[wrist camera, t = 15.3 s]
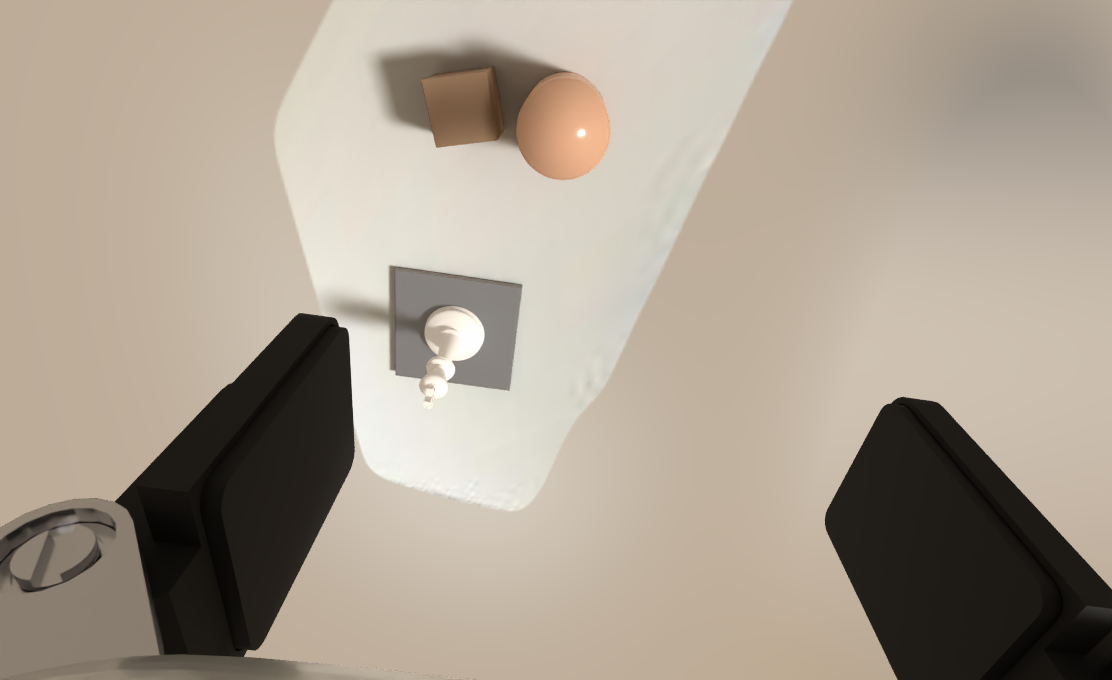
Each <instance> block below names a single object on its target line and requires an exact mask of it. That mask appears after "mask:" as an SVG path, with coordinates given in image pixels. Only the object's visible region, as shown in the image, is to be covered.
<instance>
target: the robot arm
mask: <svg viewBox="0 0 1112 680" xmlns="http://www.w3.org/2000/svg"><path fill="white" fill-rule="evenodd" d="M354 448H355V446H354V426H353V407H352V387H351V367H350V348H349V334H348V330H347V329H346V328H343V327H339V325H338V322H337V320H336V319H335V318H332V317H325V316H318V315H311V314H303V313H299V314H298V315H296V316H295V317H294V318H293V319H292V320H291V322H290V323H289V324H288V325H287V326H286V327H285V328H284V329H283V330H282V331H281V332H280V333H279V334H278V335H277V336H276V337H275V338H274V339H273V341H272V342H271V343H270V344H269V345H268V346H267V347H266V348H265V349H264V350H263V351H262V352H261V353H260V354H259V356H258V357H257V358H256V359H255V360H254V361H253V362H252V363H251V364H250V365H249V366H248V367H247V368H246V369H245V370H244V372H242V373H241V374H240V376H239V377H238V378H237V379H236V380H235V381H234V382H233V383H232V384H228V385H227V386H226V387H225V388H223V389H222V390H221V391H220V392H219V393H218V394H217V395H216V396H215V397H214V398H213V399H212V400H211V402H210V403H209V404H208V405H207V406H206V407H205V408H204V409H203V410H202V411H201V412H200V413H199V414H198V415H197V416H196V417H195V418H194V420H192V422H190V424H189V425H188V426H187V427H186V428H185V429H184V430H183V431H182V432H181V433H180V434H179V435H178V436H177V437H176V438H175V439H174V440H173V441H172V442H171V443H170V444H169V446H168V447H167V448H166V449H165V450H164V451H163V452H162V453H161V454H160V455H159V456H158V457H157V458H156V459H155V460H154V461H153V462H152V463H151V465H149V466H148V468H147V469H146V470H145V471H144V472H143V473H142V474H141V475H140V476H139V477H138V478H137V479H136V480H135V481H134V482H133V483H132V484H131V485H130V486H129V488H128V489H127V490H126V491H125V492H124V493H123V494H122V495H121V496H120V497H119V498H118V499H117V500H116V501H115V502H113V501H108V500H102V499H98V498H88V499H72V500H67V501H63V502H58V503H54V504H49V505H47V506H44V507H41V508H39V509H36V510H33V511H31V512H28V513H25V514H23V515H22V516H20V517H18V518H16V519H14V520H13V521H11V522H9V523H7V524H5V525H4V526H2V527H0V680H475V679H465V678H456V677H447V676H438V675H429V674H420V673H411V672H402V671H392V670H382V669H372V668H361V667H350V666H339V665H329V664H318V663H307V662H297V661H286V660H275V659H264V658H251V657H244V655H245V653H246V651H247V650H257V649H258V648H259V647H260V646H261V645H262V643H263V642H264V640H265V638H266V636H267V634H268V632H269V630H270V628H271V626H272V624H273V622H274V620H275V618H276V616H277V614H278V612H279V610H280V608H281V606H282V604H283V602H284V600H285V598H286V596H287V594H288V592H289V590H290V588H291V586H292V584H293V582H294V580H295V578H296V576H297V575H298V572H299V571H300V569H301V567H302V565H303V563H304V561H305V559H306V557H307V554H308V553H309V551H310V549H311V547H312V545H313V543H314V541H315V538H316V537H317V535H318V533H319V531H320V529H321V527H322V525H323V523H324V521H325V519H326V517H327V515H328V513H329V511H330V509H331V507H332V505H333V503H334V501H335V499H336V497H337V495H338V493H339V491H340V489H341V487H342V485H343V483H344V481H345V479H346V477H347V475H348V473H349V471H350V469H351V466H352V463H353V459H354V452H355V450H354ZM825 526H826V530H827V533H828V535H829V537H830V539H831V541H832V544H833V546H834V548H835V550H836V552H837V554H838V556H839V558H840V560H841V562H842V564H843V567H844V568H845V571H846V573H847V575H848V577H849V579H850V581H851V583H852V585H853V587H854V590H855V592H856V594H857V596H858V598H859V600H860V602H861V604H862V606H863V608H864V610H865V613H866V615H867V617H868V619H869V621H870V623H871V625H872V627H873V629H874V631H875V633H876V636H877V638H878V640H879V642H880V644H881V646H882V648H883V650H884V652H885V654H886V656H887V658H888V661H889V663H890V665H891V667H892V669H893V671H894V673H895V675H896V677H897V679H898V680H1112V589H1111V588H1110V587H1109V586H1108V585H1107V584H1106V583H1105V582H1104V580H1103V579H1102V578H1101V577H1100V576H1099V575H1098V574H1097V573H1096V572H1095V571H1094V570H1093V569H1092V568H1091V566H1090V565H1089V564H1088V563H1087V562H1086V561H1085V560H1084V559H1083V558H1082V557H1081V556H1080V555H1079V553H1078V552H1077V551H1076V550H1075V549H1074V548H1073V547H1072V546H1071V545H1070V544H1069V543H1068V542H1067V541H1066V539H1065V538H1064V537H1063V536H1062V535H1061V534H1060V533H1059V532H1058V531H1057V530H1056V529H1055V528H1054V526H1053V525H1052V524H1051V523H1050V522H1049V521H1048V520H1047V519H1046V518H1045V517H1044V516H1043V515H1042V514H1041V512H1040V511H1039V510H1038V509H1037V508H1036V507H1035V506H1034V505H1033V504H1032V503H1031V502H1030V501H1029V499H1028V498H1027V497H1026V496H1025V495H1024V494H1023V493H1022V492H1021V491H1020V490H1019V489H1018V488H1017V487H1016V486H1015V484H1014V483H1013V482H1012V481H1011V480H1010V479H1009V478H1008V477H1007V476H1006V475H1005V474H1004V472H1003V471H1002V470H1001V469H1000V468H999V467H998V466H997V465H996V464H995V463H994V462H993V461H992V460H991V458H990V457H989V456H988V455H986V453H985V452H984V451H983V450H982V449H981V448H980V447H979V445H977V443H976V442H975V441H974V440H973V439H972V438H971V437H970V436H969V435H968V434H967V433H966V431H965V430H964V429H963V428H962V427H961V426H960V425H959V424H958V423H957V422H956V421H955V420H954V418H952V416H951V415H950V414H949V413H948V412H947V411H946V410H945V409H944V408H943V407H942V406H941V405H940V404H939V403H937V402H933V401H927V400H920V399H913V398H906V397H900V398H897V399H896V400H894V401H893V402H892V403H891V404H887V405H885V406H884V407H883V408H882V409H881V411H880V413H879V415H878V416H877V418H876V420H875V422H874V424H873V426H872V428H871V429H870V431H869V433H868V435H867V437H866V439H865V441H864V442H863V445H862V446H861V448H860V450H859V452H858V454H857V455H856V457H855V459H854V461H853V463H852V465H851V467H850V468H849V470H848V472H847V474H846V476H845V478H844V480H843V481H842V483H841V485H840V487H839V489H838V491H837V493H836V495H835V496H834V498H833V500H832V502H831V504H830V506H829V507H828V509H827V512H826V516H825Z"/></svg>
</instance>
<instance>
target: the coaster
mask: <svg viewBox="0 0 1112 680" xmlns="http://www.w3.org/2000/svg"><path fill="white" fill-rule="evenodd" d="M521 292H522V285H518V284H511V283H504V282H497V281H490V280H483V279H476V278H469V277H462V276H456V275H449V274H442V273H435V272H428V271H421V270H414V269H407V268H400V267H397V268H396V270H395V361H396V375H398V376H405V377H413V378H420V379H422V378H423V377H424V376H425V375H426V374H428V373H427V368H426V365H427V362H428V361H429V360H430V359H431V358H433V357H436V356H438V355H437V354H435V353H434V352H433V351H432V350H431V349H430V347H429V346H428V344H427V342H426V339H425V333H424V332H425V325H426V322H427V319H428V318H429V316H430V315H431V314H432V313H433V312H434V311H436V310H437V309H439V308H442V307H446V306H458V307H462V308H465V309H467V310H469V311H470V312H472V313H473V314H474V315H476V316H477V317H478V319H479V320H480V322H481V323H482V325H483V328H484V341H483V344H482V346H481V347H480V349H479V350H478V352H477V353H476V354H475V355H473V356H472V357H470V358H468V359H465V360H461V361H452V363H453V364H454V366H455V373H454V375H453V376H452V377H451V378H450V379H449V380H447V382H449V383H457V384H464V385H471V386H479V387H486V388H493V389H501V390H508V391H509V389H510V383H511V374H512V366H513V358H514V350H515V341H516V333H517V325H518V317H519V308H520V300H521Z"/></svg>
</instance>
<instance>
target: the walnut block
mask: <svg viewBox="0 0 1112 680" xmlns="http://www.w3.org/2000/svg"><path fill="white" fill-rule="evenodd" d="M421 81H422V85H423V90H424V94H425V99H426V104H427V108H428V113H429V117H430V122H431V126H432V131H433V136H434V140H435V145H436V148H437V147H445V146H454V145H462V144H470V143H479V142H487V141H495V140H498V138H499V137H500V135H501V134H502V132H503V131H504V124H503V118H502V112H501V105H500V99H499V93H498V86H497V80H496V74H495V67H494V66H493V67H485V68H478V69H470V70H463V71H455V72H448V73H440V74H435V75H432V76H430V77H427V78H425V79H422V80H421Z"/></svg>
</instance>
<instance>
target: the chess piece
mask: <svg viewBox="0 0 1112 680" xmlns="http://www.w3.org/2000/svg"><path fill="white" fill-rule="evenodd" d="M424 333H425V339H426V342H427V344H428V346H429V347H430V349H431V350H432V351H433V352H434V353H435V354H437V355H438V356H436V357H433V358H431V359H430V360H429V361H428V362H427V365H426V368H427V373H428V374H426V375H425V376H424V377H423V378H422V379H421V381H420V384H419V386H420V390H421V392H422V393H423V394H424V395H425V396H426V397H425V400H424V406H425V408H429V409H432V407H433V399H437V398H441V397H443V396H444V395H445V394H446V393H447V390H448V383H447V380H449V379H450V378H451V377H452V376H453V375H454V373H455V366H454V364H453V363H452V361H461V360H465V359H468V358H470V357H472V356H473V355H475V354H476V353H477V352H478V350H479V349H480V347H481V346H482V344H483V341H484V328H483V325H482V323H481V322H480V320H479V319H478V317H477V316H476V315H474V314H473V313H472V312H470V311H469V310H467V309H465V308H462V307H458V306H446V307H442V308H439V309H437V310H436V311H434V312H433V313H432V314H431V315H430V316H429V318H428V319H427V322H426V325H425V332H424Z"/></svg>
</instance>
